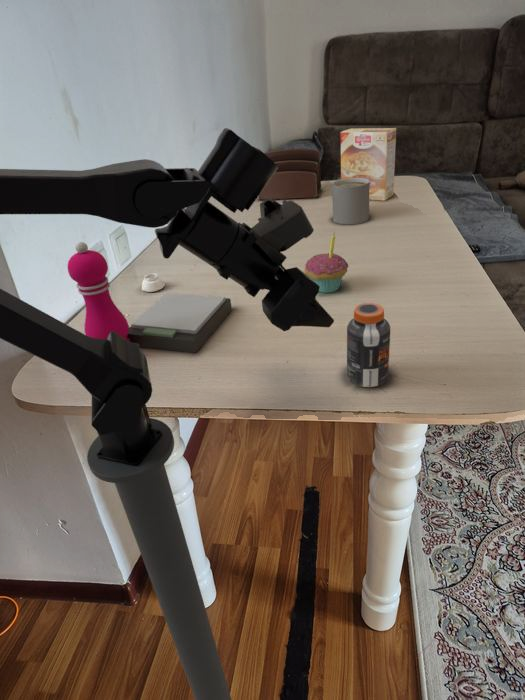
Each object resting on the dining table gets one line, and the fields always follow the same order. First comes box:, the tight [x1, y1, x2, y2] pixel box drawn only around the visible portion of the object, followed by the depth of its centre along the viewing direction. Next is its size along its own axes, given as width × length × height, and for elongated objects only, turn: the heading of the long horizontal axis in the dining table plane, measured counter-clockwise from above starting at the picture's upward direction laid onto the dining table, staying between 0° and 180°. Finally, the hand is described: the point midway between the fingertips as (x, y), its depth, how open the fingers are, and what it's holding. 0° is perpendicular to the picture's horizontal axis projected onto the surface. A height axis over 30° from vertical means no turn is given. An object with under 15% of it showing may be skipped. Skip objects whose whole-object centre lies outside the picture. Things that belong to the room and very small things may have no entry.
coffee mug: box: [331, 178, 370, 225], centre depth 134 cm, size 13×10×10 cm
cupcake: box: [304, 231, 349, 294], centre depth 95 cm, size 9×8×12 cm
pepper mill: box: [67, 241, 130, 342], centre depth 79 cm, size 7×7×20 cm
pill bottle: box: [346, 302, 391, 388], centre depth 68 cm, size 6×6×11 cm
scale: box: [127, 292, 233, 354], centre depth 90 cm, size 16×14×3 cm
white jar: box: [141, 273, 166, 293], centre depth 106 cm, size 5×3×5 cm
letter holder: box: [258, 147, 322, 201], centre depth 159 cm, size 10×20×14 cm, turn 77°
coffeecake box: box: [340, 127, 397, 202], centre depth 147 cm, size 15×7×20 cm, turn 55°
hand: (316, 308), depth 63 cm, fingers open, 9 cm apart
